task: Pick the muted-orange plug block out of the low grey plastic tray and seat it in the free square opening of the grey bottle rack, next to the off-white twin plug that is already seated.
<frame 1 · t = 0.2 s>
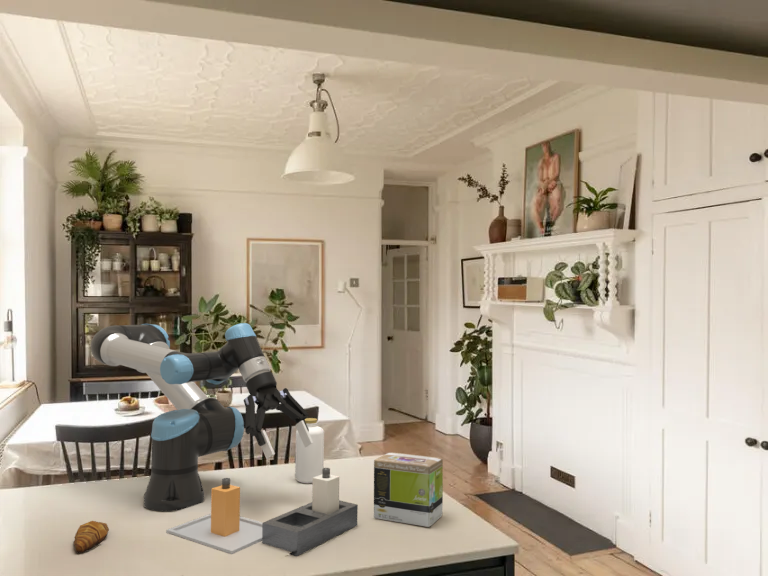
hand: (290, 450, 164), 15 cm above the kitchen island, tool tilted 35°, fingers open, 13 cm apart
plug: (225, 531, 147), point 1 cm above the kitchen island, touching tray
twin plug: (325, 519, 152), resting on grey bottle rack
tea box: (408, 518, 160), on the kitchen island
grey bottle rack: (311, 535, 147), on the kitchen island
tray: (225, 534, 147), on the kitchen island
potion bottle: (309, 480, 190), on the kitchen island
croissant: (91, 544, 142), on the kitchen island
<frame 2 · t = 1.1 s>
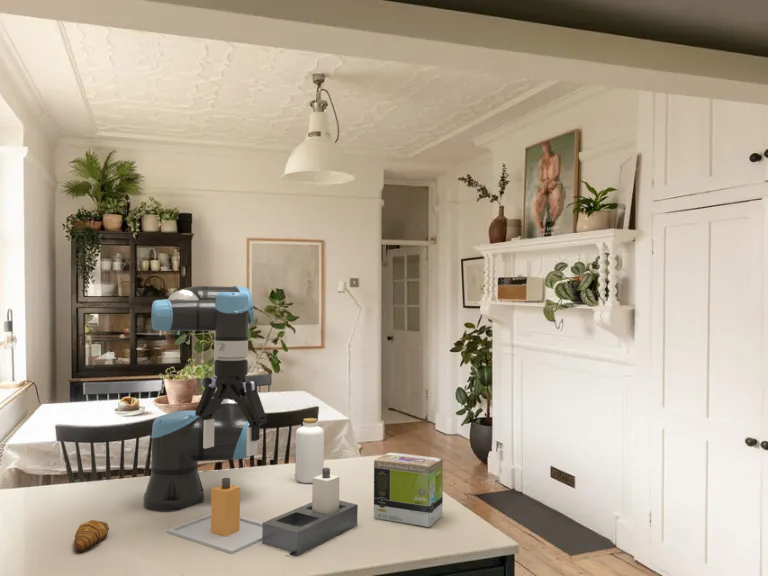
hand: (229, 451, 148), 19 cm above the kitchen island, tool pointing down, fingers open, 13 cm apart
nothing on the kitchen island moved.
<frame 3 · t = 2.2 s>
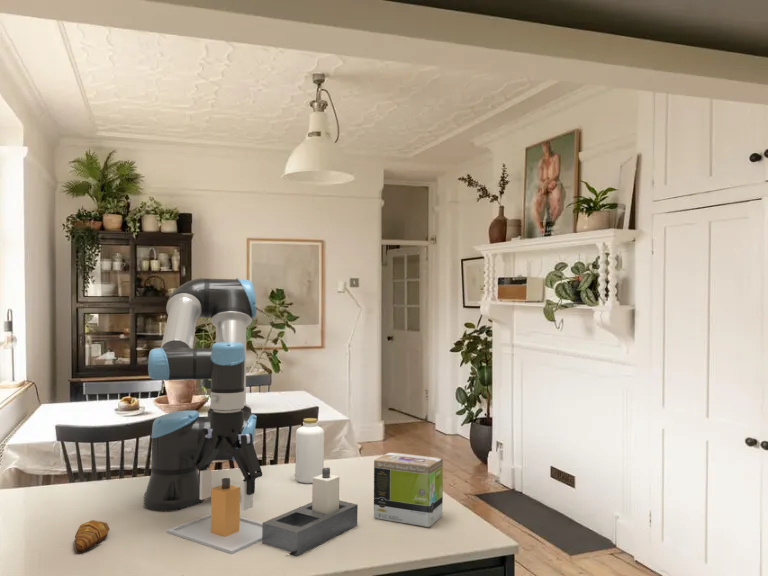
hand: (225, 503, 147), 7 cm above the kitchen island, tool pointing down, fingers open, 13 cm apart
nothing on the kitchen island moved.
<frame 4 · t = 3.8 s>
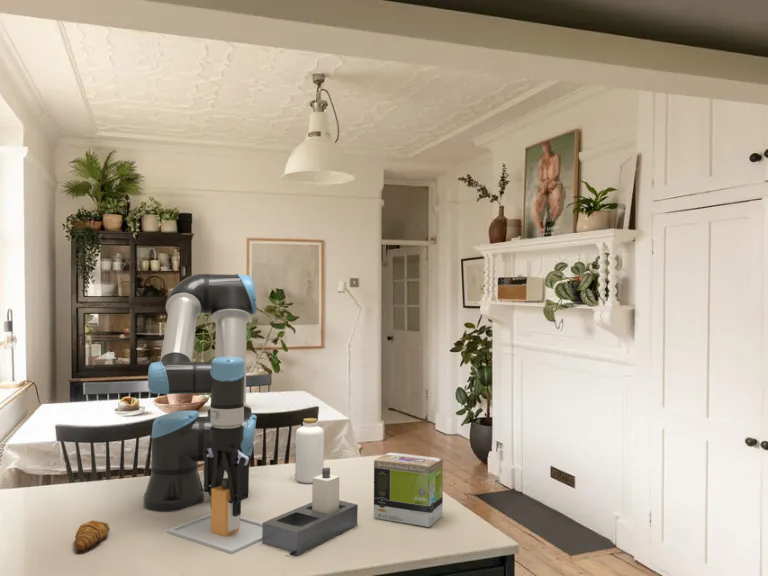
hand: (225, 526, 147), 2 cm above the kitchen island, tool pointing down, fingers closed on plug, 4 cm apart
plug: (225, 531, 147), point 1 cm above the kitchen island, touching gripper, tray
everything else where it was.
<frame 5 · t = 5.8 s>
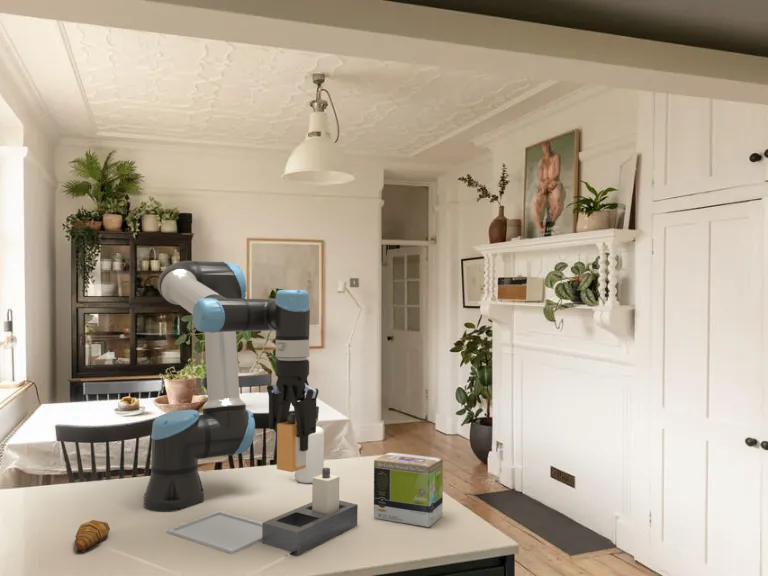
hand: (291, 463, 143), 18 cm above the kitchen island, tool pointing down, fingers closed on plug, 4 cm apart
plug: (291, 468, 143), point 16 cm above the kitchen island, touching gripper
everything else where it was.
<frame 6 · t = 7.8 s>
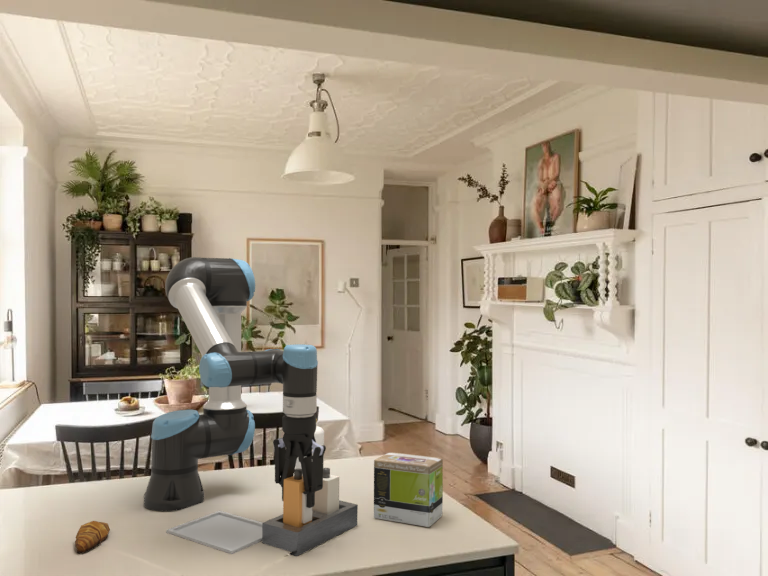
hand: (297, 518, 143), 5 cm above the kitchen island, tool pointing down, fingers closed on plug, 4 cm apart
plug: (297, 523, 143), point 4 cm above the kitchen island, touching gripper
everything else where it was.
when the fingers open (5 cm above the kitchen island, at t = 8.1 s): plug drops 2 cm, resting on grey bottle rack.
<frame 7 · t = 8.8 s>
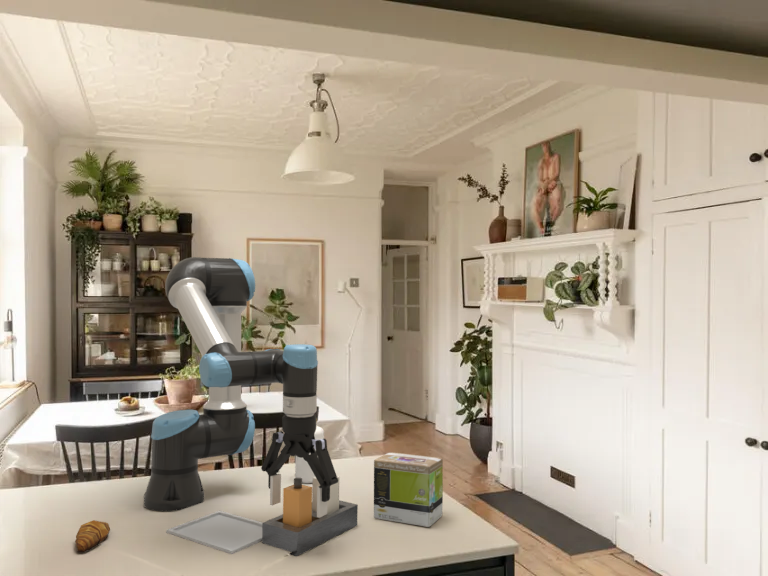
hand: (298, 509, 143), 7 cm above the kitchen island, tool pointing down, fingers open, 13 cm apart
plug: (297, 532, 143), point 2 cm above the kitchen island, touching grey bottle rack
everything else where it was.
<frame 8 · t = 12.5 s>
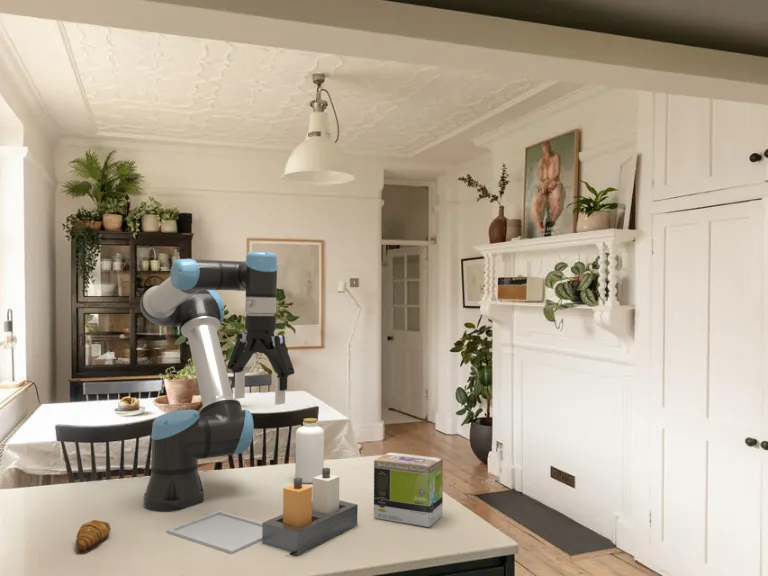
hand: (259, 401, 158), 29 cm above the kitchen island, tool pointing down, fingers open, 13 cm apart
nothing on the kitchen island moved.
at the end: plug 0.1 cm from the target spot on the grey bottle rack, point 2.1 cm above the grey bottle rack's base; plug tilted 0°; the gripper is holding nothing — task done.
